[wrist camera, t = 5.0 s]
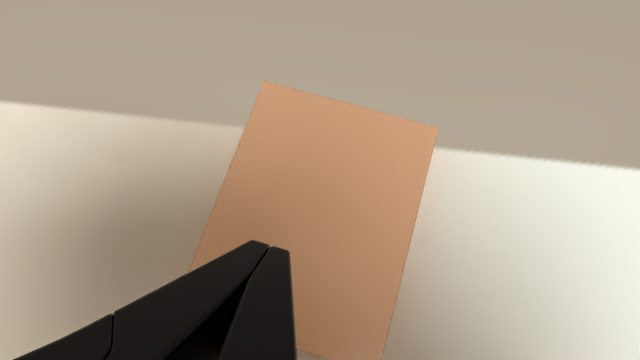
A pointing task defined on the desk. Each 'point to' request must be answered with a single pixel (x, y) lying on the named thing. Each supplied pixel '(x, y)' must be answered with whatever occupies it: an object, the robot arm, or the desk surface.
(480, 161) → the desk surface
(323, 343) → the glazed tile
